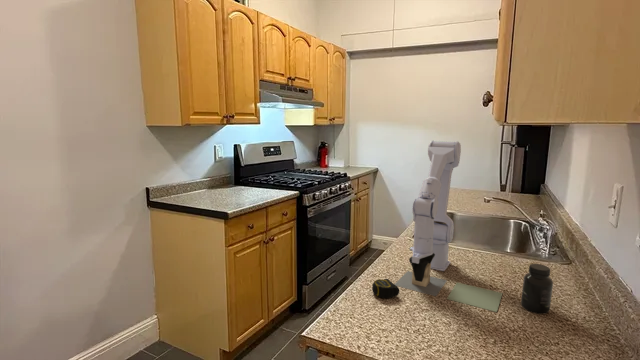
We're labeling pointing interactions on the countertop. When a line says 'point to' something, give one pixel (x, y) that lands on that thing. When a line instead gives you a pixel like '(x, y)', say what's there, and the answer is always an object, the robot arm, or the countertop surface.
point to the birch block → (425, 279)
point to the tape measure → (384, 288)
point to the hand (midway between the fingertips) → (421, 277)
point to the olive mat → (475, 296)
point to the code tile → (430, 289)
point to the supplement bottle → (537, 289)
